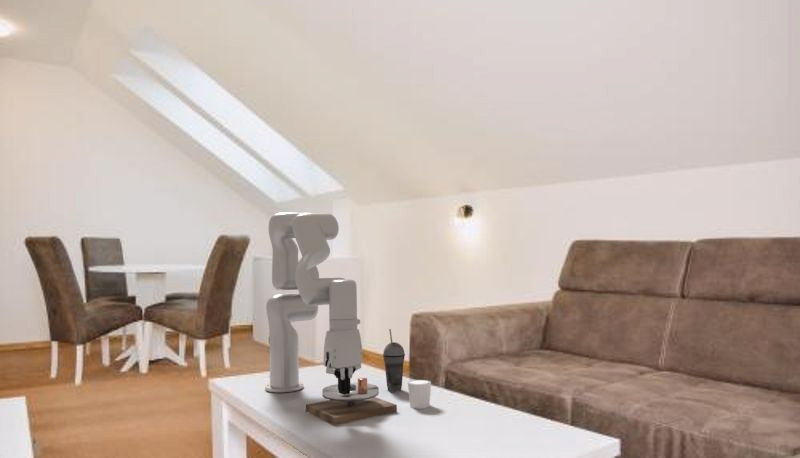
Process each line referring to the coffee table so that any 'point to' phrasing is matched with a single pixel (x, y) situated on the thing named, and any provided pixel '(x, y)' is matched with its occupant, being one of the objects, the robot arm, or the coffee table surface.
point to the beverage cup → (394, 365)
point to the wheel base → (350, 410)
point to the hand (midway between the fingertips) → (344, 393)
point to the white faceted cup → (419, 393)
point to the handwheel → (352, 391)
